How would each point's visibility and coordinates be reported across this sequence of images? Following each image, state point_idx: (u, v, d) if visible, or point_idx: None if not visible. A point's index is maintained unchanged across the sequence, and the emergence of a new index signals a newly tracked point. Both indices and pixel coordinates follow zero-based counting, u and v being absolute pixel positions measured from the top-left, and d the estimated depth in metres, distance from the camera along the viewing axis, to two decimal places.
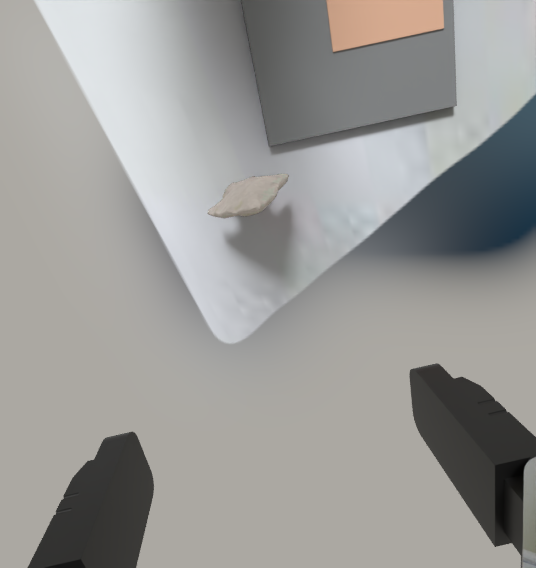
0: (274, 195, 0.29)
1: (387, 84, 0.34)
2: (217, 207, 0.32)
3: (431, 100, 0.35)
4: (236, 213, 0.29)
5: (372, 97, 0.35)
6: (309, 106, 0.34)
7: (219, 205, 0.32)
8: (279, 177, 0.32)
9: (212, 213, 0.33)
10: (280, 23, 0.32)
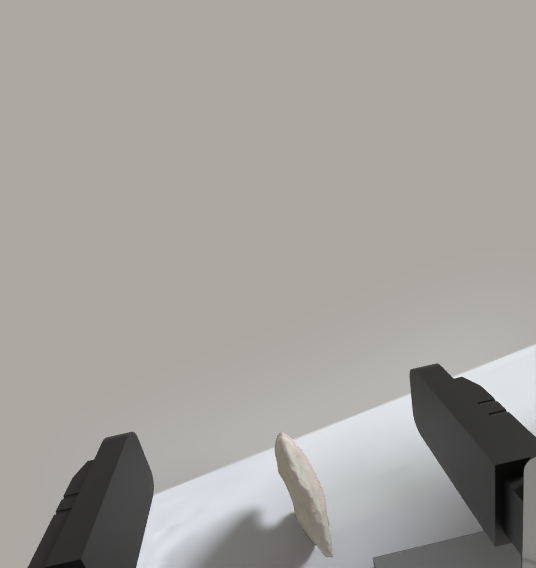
0: (296, 473, 0.23)
1: None
2: None
3: None
4: (278, 435, 0.26)
5: None
6: None
7: None
8: (323, 513, 0.23)
9: None
10: None
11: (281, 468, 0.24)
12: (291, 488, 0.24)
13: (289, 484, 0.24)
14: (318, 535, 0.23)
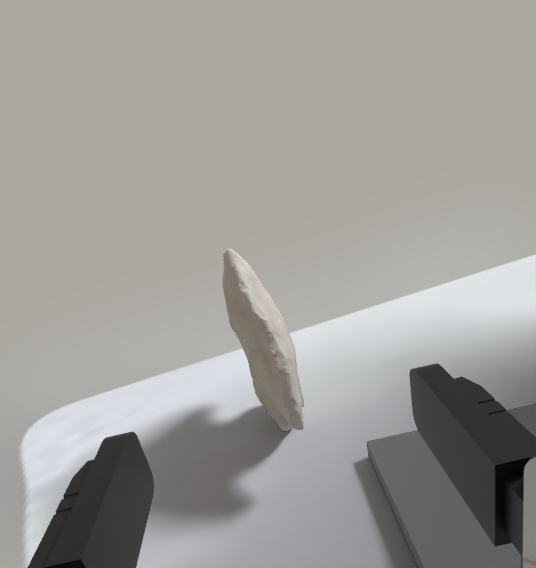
0: (248, 296, 0.15)
1: None
2: None
3: None
4: None
5: None
6: None
7: None
8: (289, 358, 0.15)
9: None
10: None
11: (228, 300, 0.16)
12: (243, 330, 0.16)
13: (240, 324, 0.16)
14: (281, 391, 0.15)
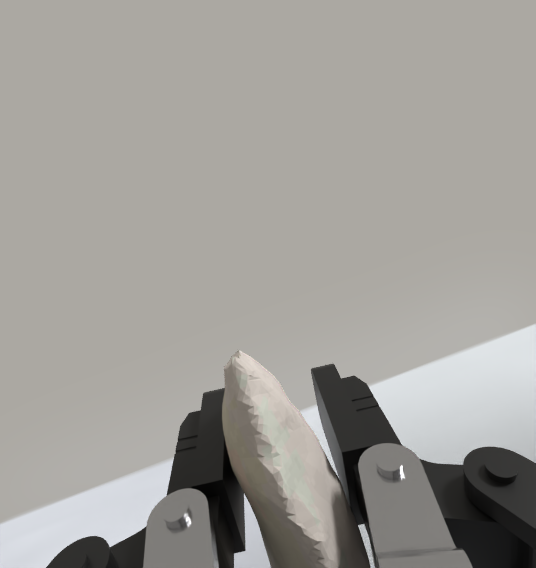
0: (279, 481, 0.07)
1: None
2: None
3: None
4: None
5: None
6: None
7: None
8: None
9: None
10: None
11: (234, 462, 0.08)
12: (264, 527, 0.08)
13: (258, 514, 0.08)
14: None
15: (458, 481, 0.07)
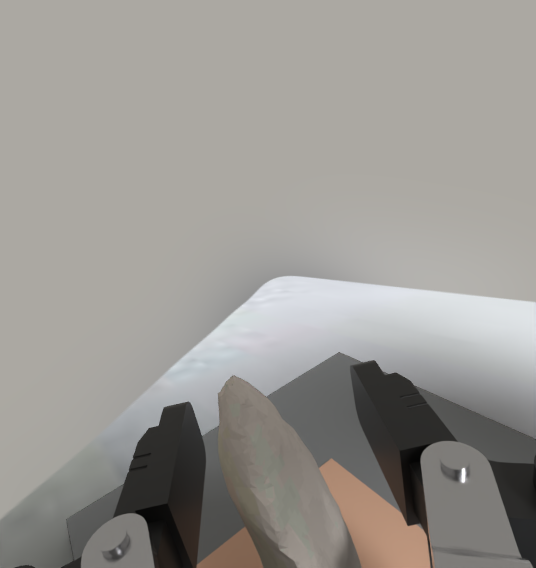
0: (272, 514, 0.06)
1: (213, 476, 0.18)
2: None
3: None
4: None
5: None
6: (318, 397, 0.22)
7: None
8: None
9: None
10: None
11: (229, 488, 0.08)
12: (260, 553, 0.08)
13: (254, 540, 0.08)
14: None
15: (526, 480, 0.07)
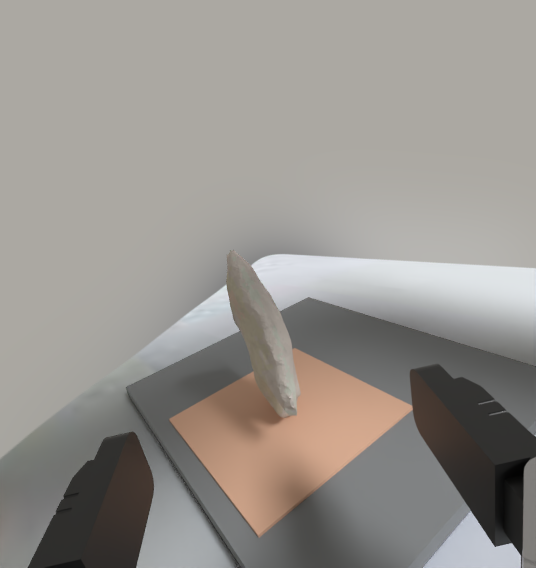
0: (248, 294, 0.17)
1: (219, 362, 0.28)
2: None
3: (160, 376, 0.28)
4: None
5: (231, 350, 0.30)
6: (290, 321, 0.32)
7: None
8: (284, 350, 0.17)
9: None
10: (363, 337, 0.28)
11: (231, 297, 0.18)
12: (244, 325, 0.18)
13: (242, 319, 0.18)
14: (277, 380, 0.16)
15: None
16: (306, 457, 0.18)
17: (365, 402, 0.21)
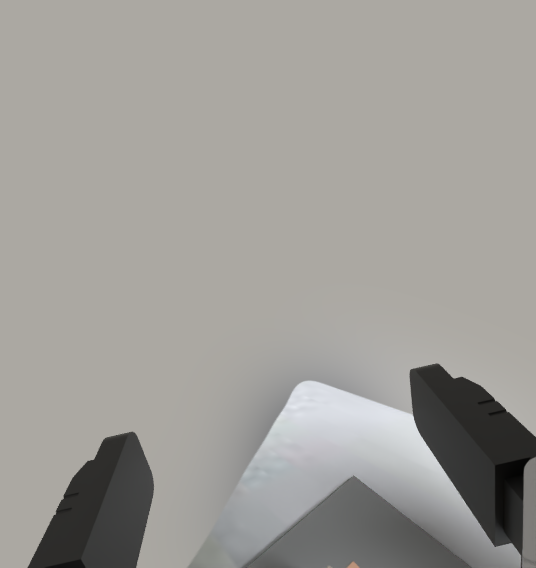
0: None
1: None
2: None
3: None
4: None
5: (298, 551, 0.37)
6: (343, 514, 0.39)
7: None
8: None
9: None
10: (409, 554, 0.34)
11: None
12: None
13: None
14: None
15: None
16: None
17: None
